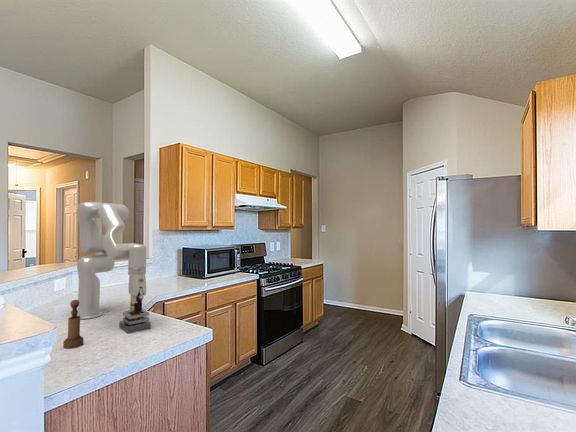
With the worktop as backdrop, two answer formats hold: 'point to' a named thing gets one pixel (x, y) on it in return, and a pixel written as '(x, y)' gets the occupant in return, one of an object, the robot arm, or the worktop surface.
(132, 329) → the bracket
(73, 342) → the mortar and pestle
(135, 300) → the robot arm
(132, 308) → the copper tube
